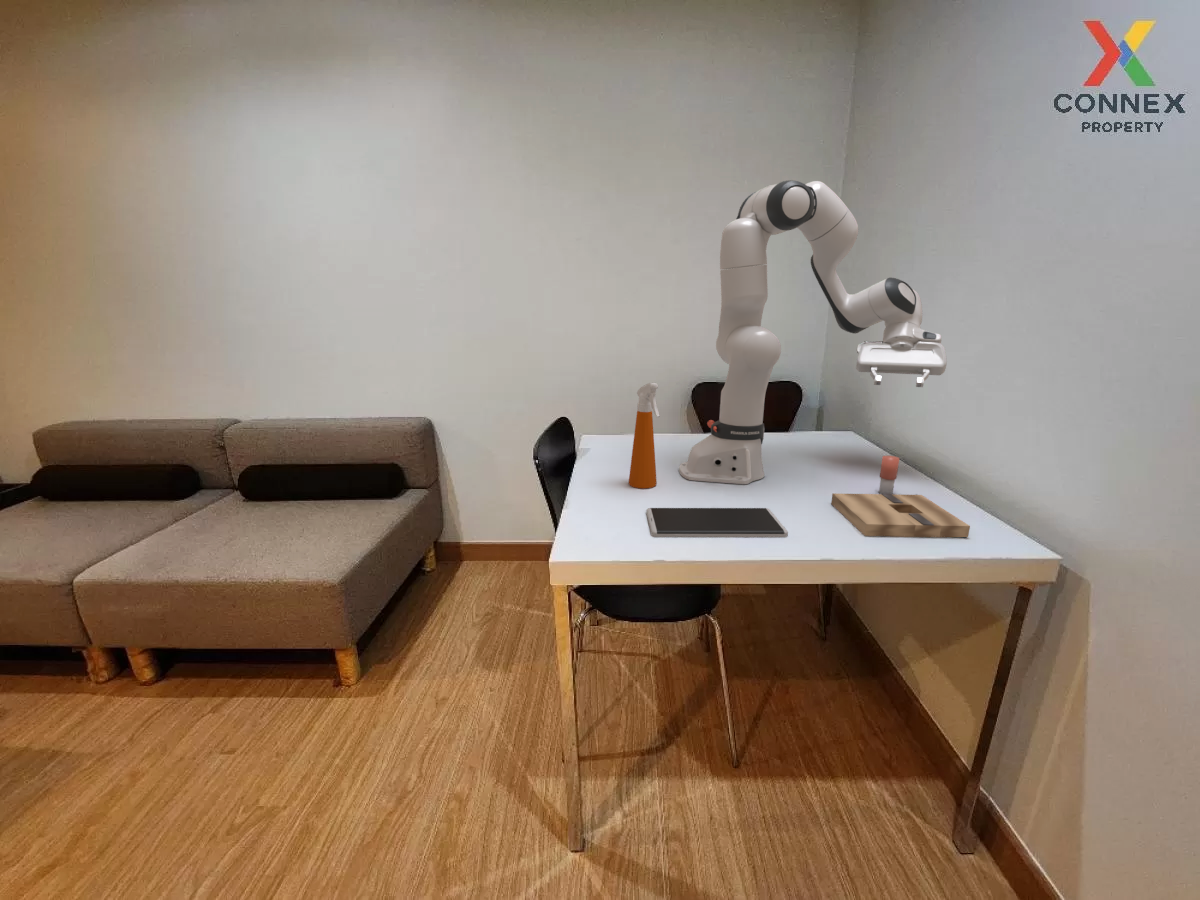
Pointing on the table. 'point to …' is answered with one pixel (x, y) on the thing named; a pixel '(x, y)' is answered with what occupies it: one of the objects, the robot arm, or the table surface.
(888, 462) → the red white cylinder
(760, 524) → the smartphone
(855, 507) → the board
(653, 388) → the spray bottle
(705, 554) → the table surface
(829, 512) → the table surface
